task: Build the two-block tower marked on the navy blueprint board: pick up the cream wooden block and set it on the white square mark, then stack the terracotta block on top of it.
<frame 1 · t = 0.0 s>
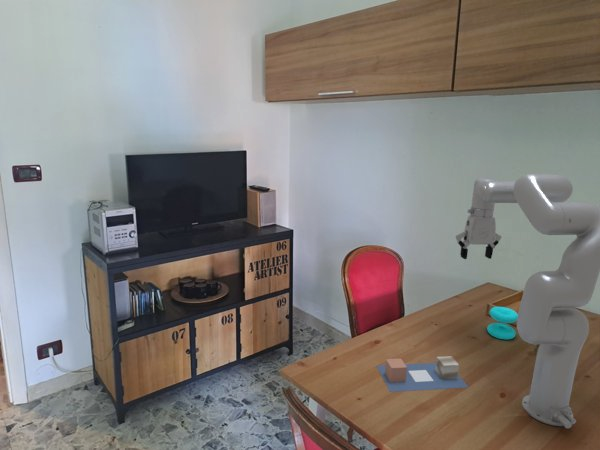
hand: (475, 257, 155), 31 cm above the table, tool pointing down, fingers open, 9 cm apart
cream block: (445, 374, 135), point 1 cm above the table, touching blueprint board
blueprint board: (420, 377, 134), on the table
tray: (520, 314, 184), on the table
donuts: (500, 335, 164), on the table
cork: (544, 353, 151), on the table
terracotta block: (395, 377, 132), point 1 cm above the table, touching blueprint board
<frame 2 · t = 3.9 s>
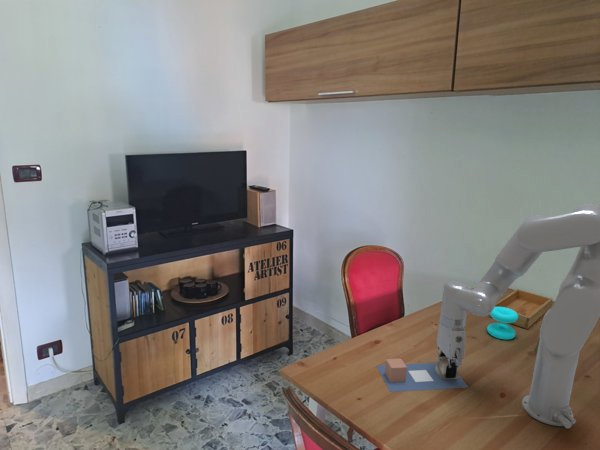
hand: (446, 371, 134), 2 cm above the table, tool pointing down, fingers closed on cream block, 4 cm apart
cream block: (445, 374, 135), point 1 cm above the table, touching blueprint board, gripper
when the fingers open (3 cm above the table, at t = 8.8 s): cream block stays where it is, resting on blueprint board.
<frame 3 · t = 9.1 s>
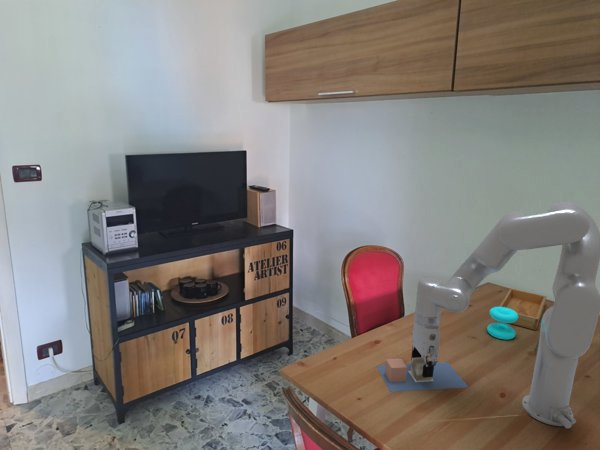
hand: (421, 368, 133), 3 cm above the table, tool pointing down, fingers open, 8 cm apart
cream block: (420, 375, 134), point 1 cm above the table, touching blueprint board
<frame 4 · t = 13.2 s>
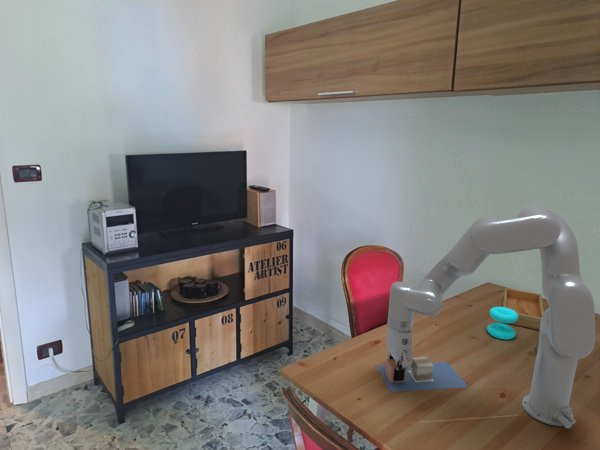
hand: (395, 374, 132), 2 cm above the table, tool pointing down, fingers closed on terracotta block, 4 cm apart
terracotta block: (395, 377, 132), point 1 cm above the table, touching blueprint board, gripper
when the fingers open (8 cm above the table, at t = 18.0 s): terracotta block drops 1 cm, resting on cream block.
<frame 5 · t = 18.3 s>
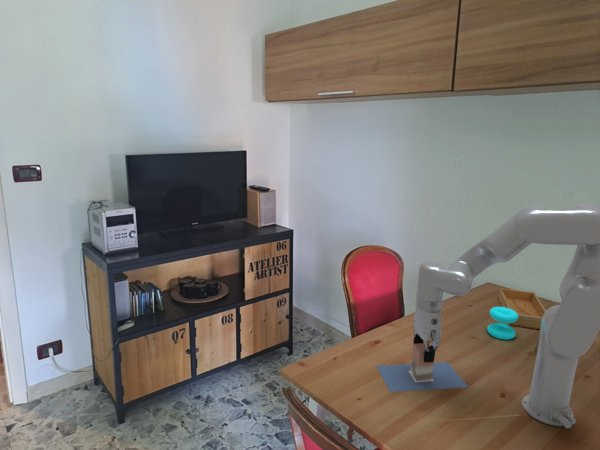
hand: (423, 354, 132), 8 cm above the table, tool pointing down, fingers open, 7 cm apart
cream block: (420, 375, 134), point 1 cm above the table, touching blueprint board, terracotta block
terracotta block: (422, 361, 132), point 6 cm above the table, touching cream block
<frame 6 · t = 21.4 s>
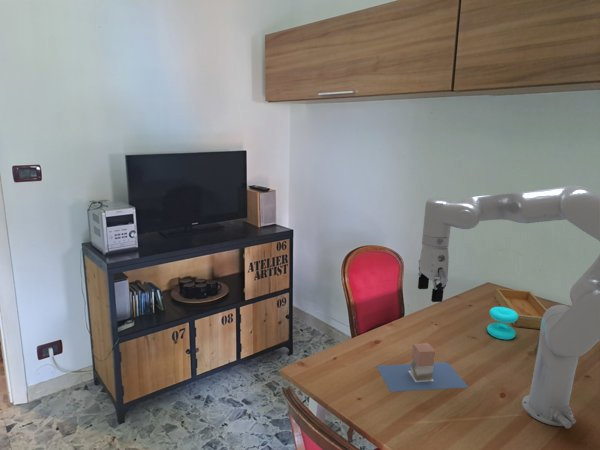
hand: (429, 294, 127), 28 cm above the table, tool pointing down, fingers open, 9 cm apart
at the end: cream block 0.0 cm off-centre on the blueprint board, point 0.7 cm above the blueprint board's base; terracotta block 0.0 cm off-centre on the cream block, point 5.0 cm above the cream block's base; terracotta block tilted 0° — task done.
